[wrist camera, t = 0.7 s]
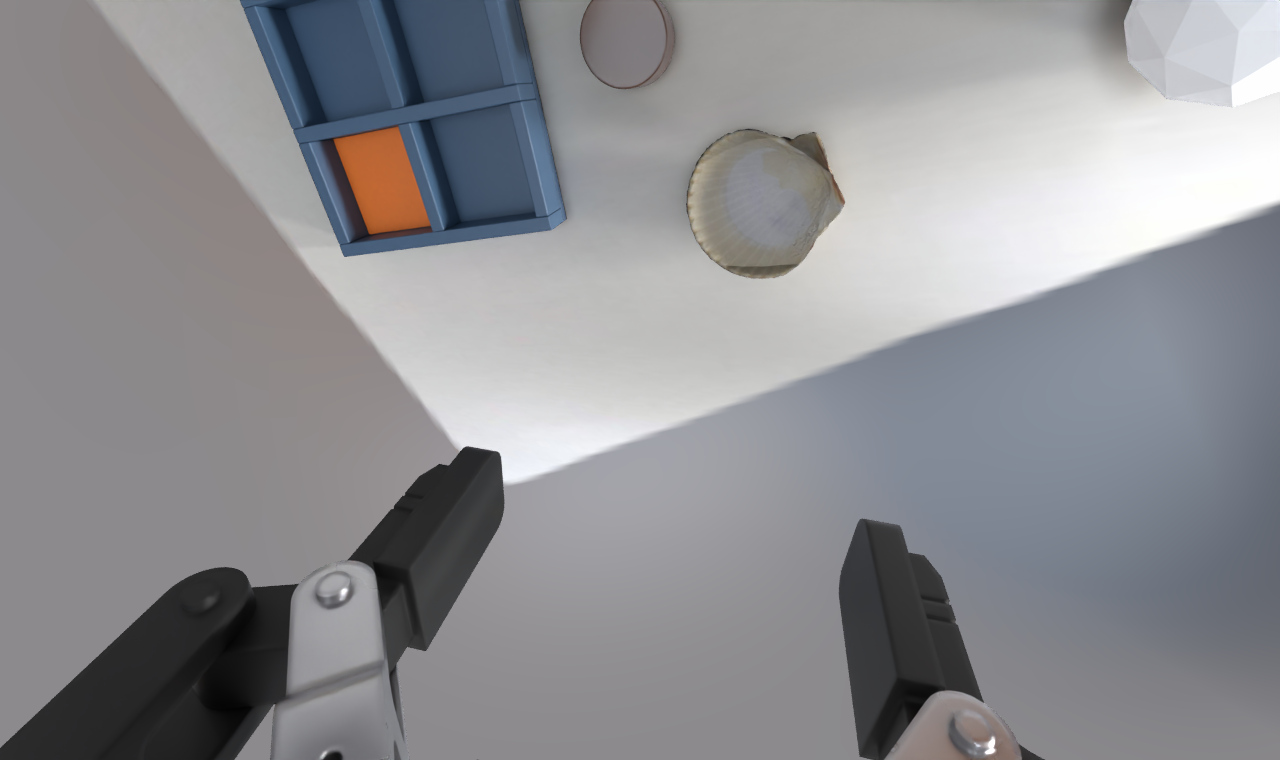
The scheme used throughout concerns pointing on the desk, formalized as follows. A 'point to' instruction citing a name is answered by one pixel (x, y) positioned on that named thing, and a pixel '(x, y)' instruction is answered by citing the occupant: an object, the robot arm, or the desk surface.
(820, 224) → the seashell
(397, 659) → the robot arm
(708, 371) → the desk surface
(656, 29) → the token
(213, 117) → the desk surface
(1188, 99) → the geometric ball
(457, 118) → the grid
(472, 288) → the desk surface
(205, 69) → the desk surface
